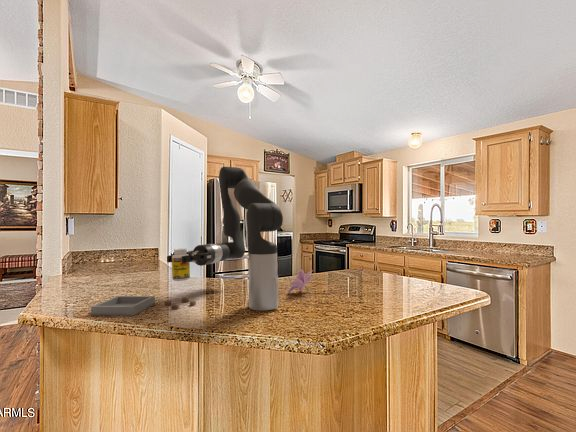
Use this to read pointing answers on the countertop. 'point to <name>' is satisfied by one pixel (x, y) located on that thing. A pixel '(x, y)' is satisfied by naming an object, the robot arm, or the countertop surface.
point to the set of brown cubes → (176, 306)
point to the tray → (123, 306)
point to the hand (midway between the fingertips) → (175, 259)
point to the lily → (300, 281)
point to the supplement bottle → (180, 266)
